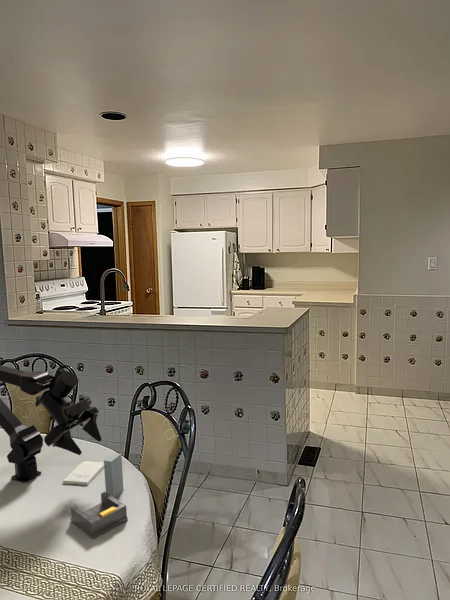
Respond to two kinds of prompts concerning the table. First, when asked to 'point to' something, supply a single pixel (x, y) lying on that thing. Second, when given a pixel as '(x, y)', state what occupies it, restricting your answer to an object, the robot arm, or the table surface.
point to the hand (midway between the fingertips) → (91, 447)
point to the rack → (100, 516)
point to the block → (113, 474)
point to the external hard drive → (84, 473)
